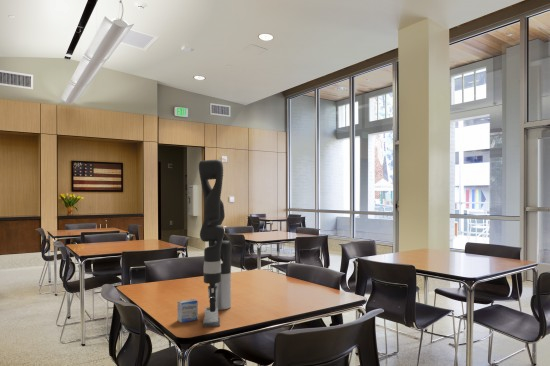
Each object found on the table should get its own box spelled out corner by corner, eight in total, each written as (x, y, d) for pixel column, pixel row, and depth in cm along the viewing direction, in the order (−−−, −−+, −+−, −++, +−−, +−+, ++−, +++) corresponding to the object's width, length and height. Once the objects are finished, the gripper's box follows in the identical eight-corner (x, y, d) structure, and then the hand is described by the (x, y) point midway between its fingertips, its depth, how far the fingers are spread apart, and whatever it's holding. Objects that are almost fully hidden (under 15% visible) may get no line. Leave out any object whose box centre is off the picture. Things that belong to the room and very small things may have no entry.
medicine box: (181, 323, 170) (181, 303, 170) (177, 320, 173) (177, 301, 174) (197, 320, 174) (197, 300, 175) (193, 317, 178) (193, 298, 178)
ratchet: (203, 316, 179) (203, 307, 179) (219, 315, 180) (219, 307, 180) (203, 327, 164) (203, 317, 164) (219, 326, 165) (219, 316, 166)
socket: (204, 318, 171) (204, 307, 171) (217, 318, 172) (217, 306, 172) (204, 322, 165) (204, 310, 165) (218, 322, 166) (218, 310, 166)
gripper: (221, 274, 163) (221, 313, 163) (220, 267, 177) (220, 303, 177) (203, 274, 162) (203, 314, 161) (203, 268, 176) (203, 304, 175)
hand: (212, 308), depth 169 cm, fingers open, 8 cm apart
